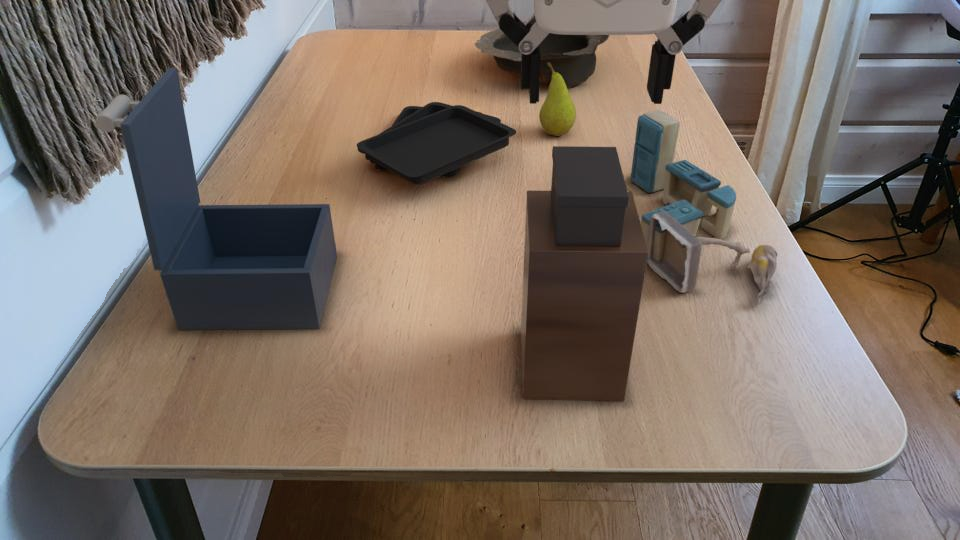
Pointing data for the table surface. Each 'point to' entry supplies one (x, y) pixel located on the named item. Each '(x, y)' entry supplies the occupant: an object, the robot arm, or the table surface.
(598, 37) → the stone bowl
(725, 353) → the table surface
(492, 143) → the tray
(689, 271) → the decorative sculpture
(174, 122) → the box lid
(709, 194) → the toy kitchen set
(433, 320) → the table surface
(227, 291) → the storage box
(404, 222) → the table surface
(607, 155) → the dark grey rectangular block
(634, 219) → the stand
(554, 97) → the fruit
